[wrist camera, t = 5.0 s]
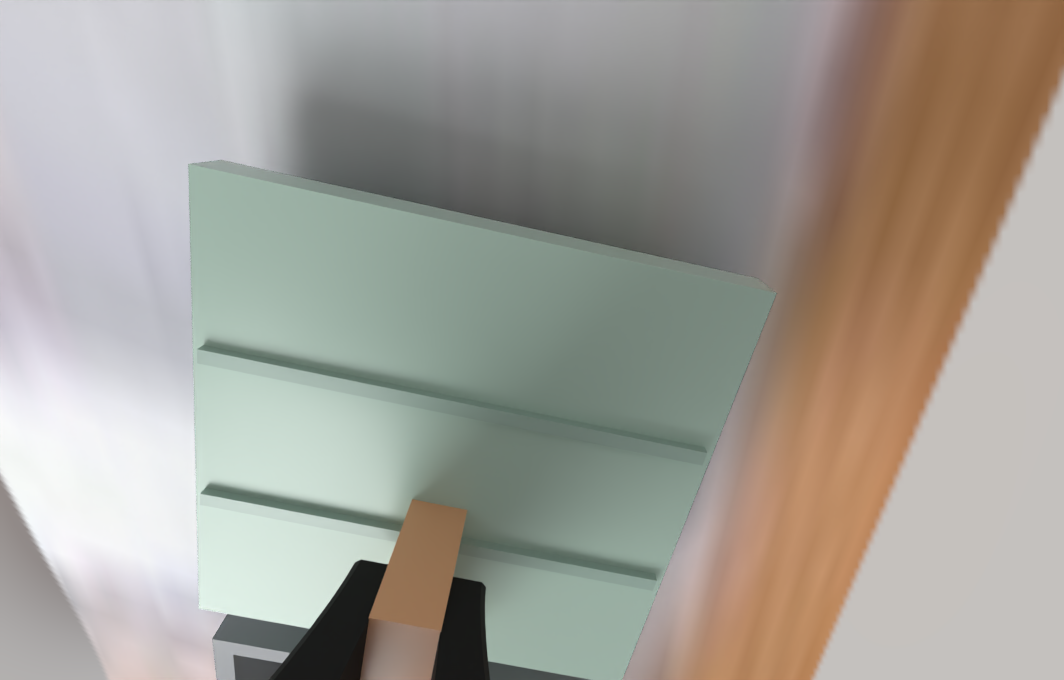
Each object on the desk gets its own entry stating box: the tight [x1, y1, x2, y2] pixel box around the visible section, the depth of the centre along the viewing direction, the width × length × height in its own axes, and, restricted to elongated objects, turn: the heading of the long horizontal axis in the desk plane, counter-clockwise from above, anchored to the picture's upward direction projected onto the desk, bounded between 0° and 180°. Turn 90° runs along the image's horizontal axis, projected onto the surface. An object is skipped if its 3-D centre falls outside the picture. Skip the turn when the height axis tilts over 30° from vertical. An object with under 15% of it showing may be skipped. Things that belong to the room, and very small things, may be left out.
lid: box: [188, 160, 777, 680], centre depth 11 cm, size 10×10×5 cm
